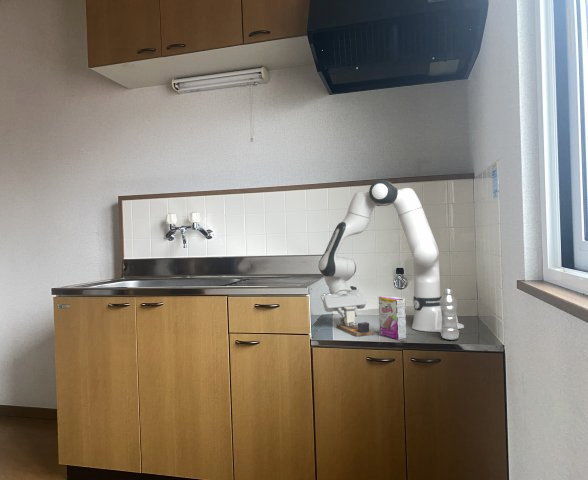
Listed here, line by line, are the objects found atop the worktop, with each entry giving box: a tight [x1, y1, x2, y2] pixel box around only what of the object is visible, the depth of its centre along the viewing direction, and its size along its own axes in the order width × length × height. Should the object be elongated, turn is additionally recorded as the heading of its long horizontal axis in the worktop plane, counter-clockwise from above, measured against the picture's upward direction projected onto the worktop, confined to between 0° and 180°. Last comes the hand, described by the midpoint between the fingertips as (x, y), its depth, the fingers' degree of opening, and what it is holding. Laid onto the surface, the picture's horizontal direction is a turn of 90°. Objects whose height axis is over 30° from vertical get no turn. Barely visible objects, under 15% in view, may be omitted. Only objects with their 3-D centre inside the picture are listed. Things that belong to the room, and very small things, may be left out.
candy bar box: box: [378, 295, 408, 341], centre depth 172 cm, size 11×5×16 cm, turn 30°
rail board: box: [336, 317, 375, 338], centre depth 185 cm, size 8×20×4 cm, turn 19°
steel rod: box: [344, 321, 370, 333], centre depth 185 cm, size 4×20×4 cm, turn 19°
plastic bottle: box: [440, 287, 460, 341], centre depth 164 cm, size 6×7×20 cm
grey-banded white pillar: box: [343, 306, 356, 326], centre depth 189 cm, size 4×3×8 cm
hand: (350, 316), depth 188 cm, fingers closed on grey-banded white pillar, 4 cm apart
